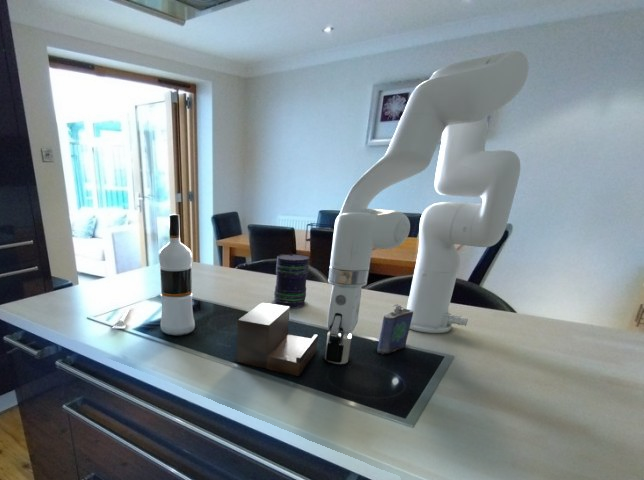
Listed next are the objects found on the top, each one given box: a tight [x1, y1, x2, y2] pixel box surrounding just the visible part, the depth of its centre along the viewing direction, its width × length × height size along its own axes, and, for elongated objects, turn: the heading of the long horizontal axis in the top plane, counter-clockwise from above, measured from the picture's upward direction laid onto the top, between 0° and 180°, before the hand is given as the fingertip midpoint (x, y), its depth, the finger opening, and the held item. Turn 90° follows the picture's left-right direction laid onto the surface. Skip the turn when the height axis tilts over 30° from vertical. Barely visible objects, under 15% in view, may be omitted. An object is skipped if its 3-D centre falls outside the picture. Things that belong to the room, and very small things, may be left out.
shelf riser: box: [236, 302, 319, 377], centre depth 87 cm, size 14×14×10 cm
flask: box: [376, 303, 413, 355], centre depth 90 cm, size 9×3×11 cm, turn 121°
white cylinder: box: [324, 331, 353, 365], centre depth 86 cm, size 5×5×6 cm
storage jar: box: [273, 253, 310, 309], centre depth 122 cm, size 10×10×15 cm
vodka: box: [158, 213, 196, 337], centre depth 99 cm, size 9×9×30 cm
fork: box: [110, 306, 132, 330], centre depth 112 cm, size 3×20×2 cm, turn 178°
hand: (336, 354), depth 87 cm, fingers open, 5 cm apart
